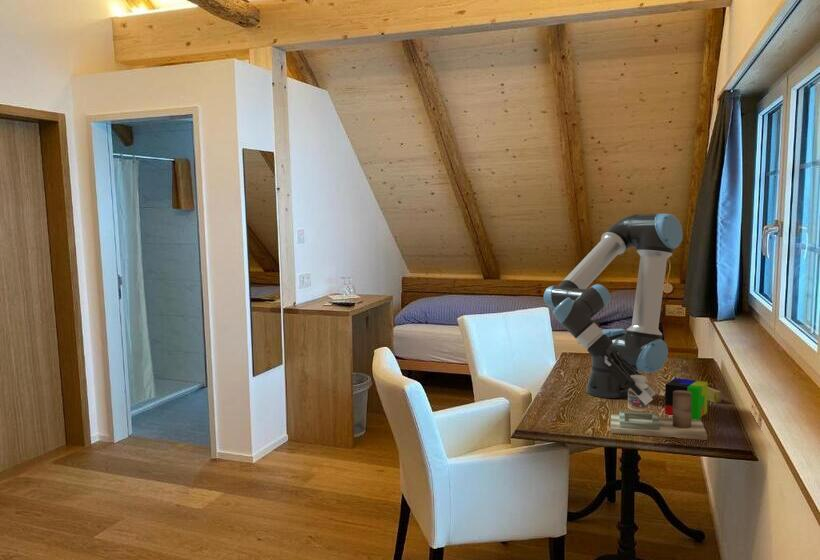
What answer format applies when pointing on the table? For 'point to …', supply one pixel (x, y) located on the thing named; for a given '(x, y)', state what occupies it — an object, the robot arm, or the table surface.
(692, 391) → the puzzle toy
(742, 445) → the table surface
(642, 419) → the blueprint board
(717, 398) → the medication box
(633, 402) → the pill bottle
